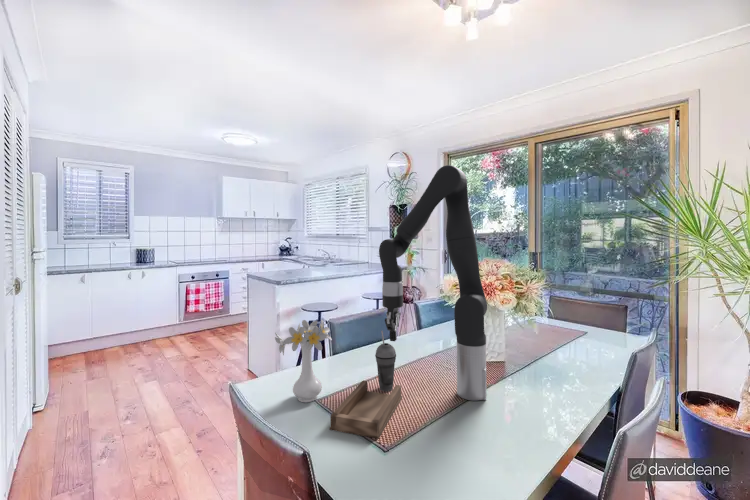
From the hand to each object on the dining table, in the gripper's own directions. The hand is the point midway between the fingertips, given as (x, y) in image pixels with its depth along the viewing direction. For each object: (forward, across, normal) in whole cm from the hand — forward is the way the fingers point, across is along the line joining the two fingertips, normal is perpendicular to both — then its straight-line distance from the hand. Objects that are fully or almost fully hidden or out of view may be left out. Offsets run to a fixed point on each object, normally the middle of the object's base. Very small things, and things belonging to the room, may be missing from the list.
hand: (393, 340), depth 127 cm
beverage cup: (+14, -9, 0) cm, 17 cm away
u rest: (+14, -26, 0) cm, 30 cm away
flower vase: (+14, -25, +22) cm, 36 cm away
